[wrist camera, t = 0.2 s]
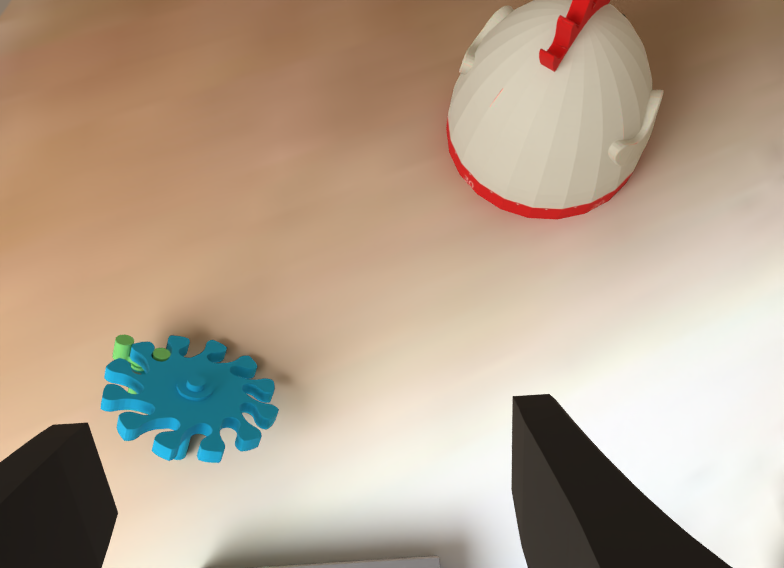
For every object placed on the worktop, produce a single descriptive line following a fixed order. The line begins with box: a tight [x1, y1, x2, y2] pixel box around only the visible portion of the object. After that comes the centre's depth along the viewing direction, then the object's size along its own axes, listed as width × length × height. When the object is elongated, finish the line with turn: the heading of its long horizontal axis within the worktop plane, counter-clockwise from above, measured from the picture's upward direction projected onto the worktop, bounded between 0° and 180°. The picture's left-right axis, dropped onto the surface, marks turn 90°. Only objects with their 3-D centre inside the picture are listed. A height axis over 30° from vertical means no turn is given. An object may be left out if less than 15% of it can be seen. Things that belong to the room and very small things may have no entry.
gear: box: [101, 335, 279, 463], centre depth 40 cm, size 11×6×10 cm
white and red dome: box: [446, 0, 664, 219], centre depth 42 cm, size 14×14×15 cm
